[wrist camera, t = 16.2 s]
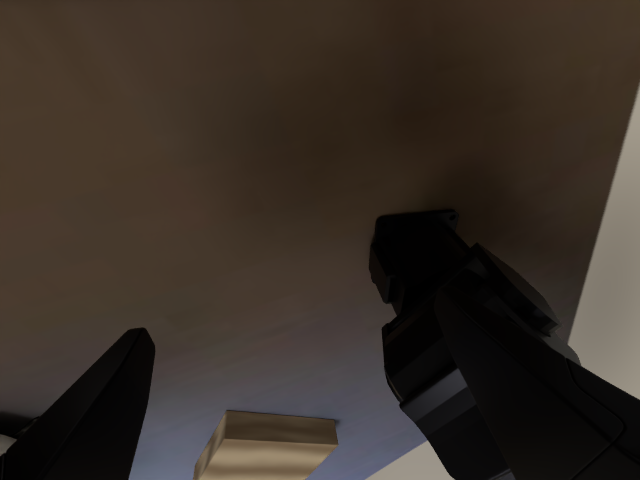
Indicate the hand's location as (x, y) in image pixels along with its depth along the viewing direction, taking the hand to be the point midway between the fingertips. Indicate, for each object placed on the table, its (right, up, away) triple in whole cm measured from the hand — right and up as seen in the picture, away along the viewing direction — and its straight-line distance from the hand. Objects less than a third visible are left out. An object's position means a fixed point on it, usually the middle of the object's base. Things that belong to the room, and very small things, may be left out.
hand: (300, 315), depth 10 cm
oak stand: (-7, -25, +32) cm, 41 cm away
